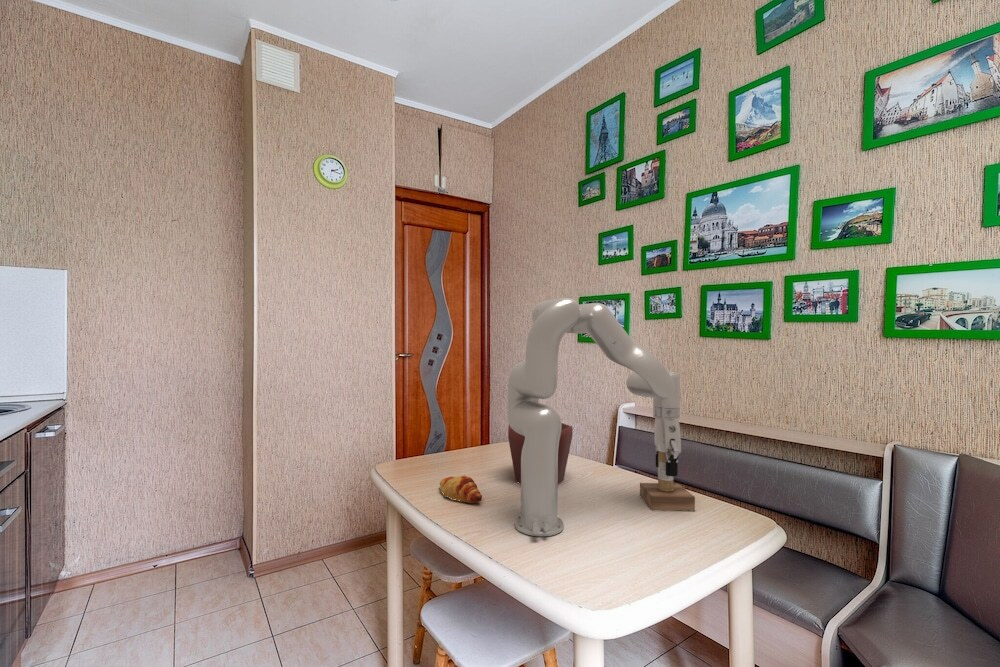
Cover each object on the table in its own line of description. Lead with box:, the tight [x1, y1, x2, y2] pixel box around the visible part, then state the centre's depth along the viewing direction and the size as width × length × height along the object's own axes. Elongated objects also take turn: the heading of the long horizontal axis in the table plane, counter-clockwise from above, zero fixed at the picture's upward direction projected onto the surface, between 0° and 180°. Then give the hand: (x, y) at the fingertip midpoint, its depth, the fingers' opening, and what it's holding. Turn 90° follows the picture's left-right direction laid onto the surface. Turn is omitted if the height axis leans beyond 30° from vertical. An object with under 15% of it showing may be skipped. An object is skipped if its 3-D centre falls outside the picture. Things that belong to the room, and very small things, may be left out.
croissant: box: [439, 475, 483, 504], centre depth 137 cm, size 21×10×8 cm, turn 41°
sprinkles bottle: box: [657, 445, 675, 492], centre depth 132 cm, size 5×5×14 cm
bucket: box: [507, 422, 574, 485], centre depth 154 cm, size 24×22×25 cm
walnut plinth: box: [639, 482, 696, 511], centre depth 132 cm, size 12×12×4 cm
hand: (666, 471), depth 132 cm, fingers open, 8 cm apart
